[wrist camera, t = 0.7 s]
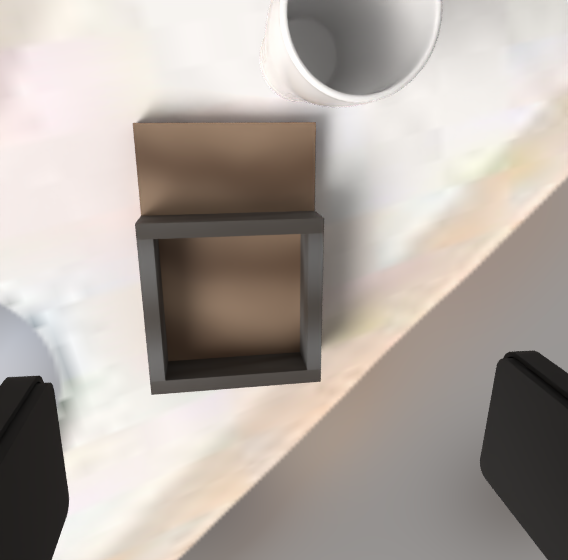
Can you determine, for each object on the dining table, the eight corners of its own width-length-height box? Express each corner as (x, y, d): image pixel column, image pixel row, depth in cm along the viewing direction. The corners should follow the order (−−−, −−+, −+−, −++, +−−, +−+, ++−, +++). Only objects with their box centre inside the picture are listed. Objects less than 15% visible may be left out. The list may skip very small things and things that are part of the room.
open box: (135, 123, 33) (125, 122, 29) (311, 122, 35) (325, 122, 30) (157, 364, 38) (151, 394, 34) (308, 354, 40) (320, 381, 36)
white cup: (350, 8, 33) (457, -80, 19) (341, 115, 35) (433, 109, 21) (248, 0, 32) (281, -100, 18) (246, 110, 34) (274, 100, 20)
